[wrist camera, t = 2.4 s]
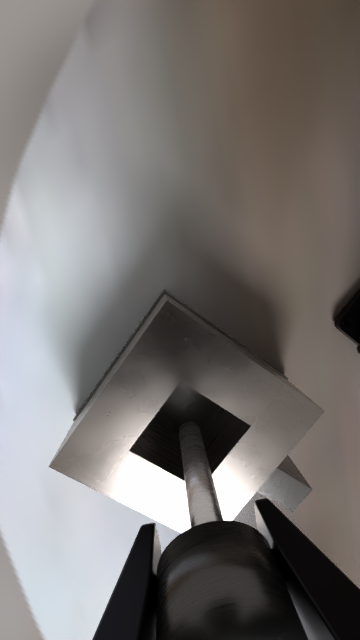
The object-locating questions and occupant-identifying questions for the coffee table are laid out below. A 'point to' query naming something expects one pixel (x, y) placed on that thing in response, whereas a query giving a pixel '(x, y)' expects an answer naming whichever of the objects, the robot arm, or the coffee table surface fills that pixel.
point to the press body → (188, 420)
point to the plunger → (219, 570)
